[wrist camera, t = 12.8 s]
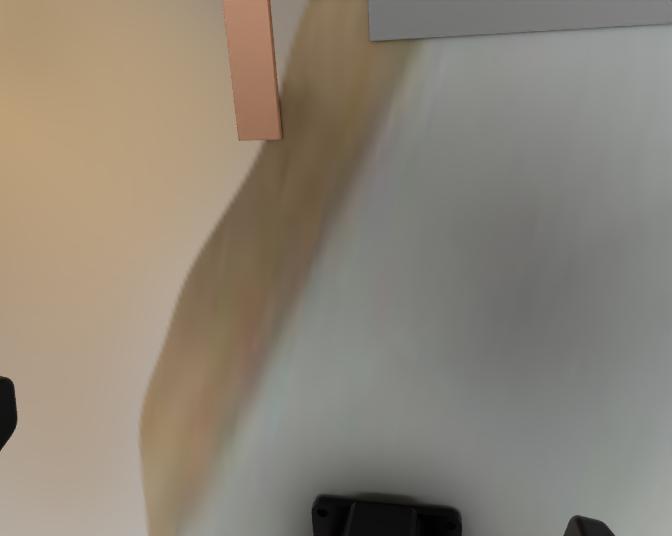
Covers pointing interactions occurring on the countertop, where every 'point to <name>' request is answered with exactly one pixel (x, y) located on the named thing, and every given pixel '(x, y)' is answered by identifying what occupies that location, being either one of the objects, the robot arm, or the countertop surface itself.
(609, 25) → the mat
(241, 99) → the terracotta line strip
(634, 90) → the countertop surface
